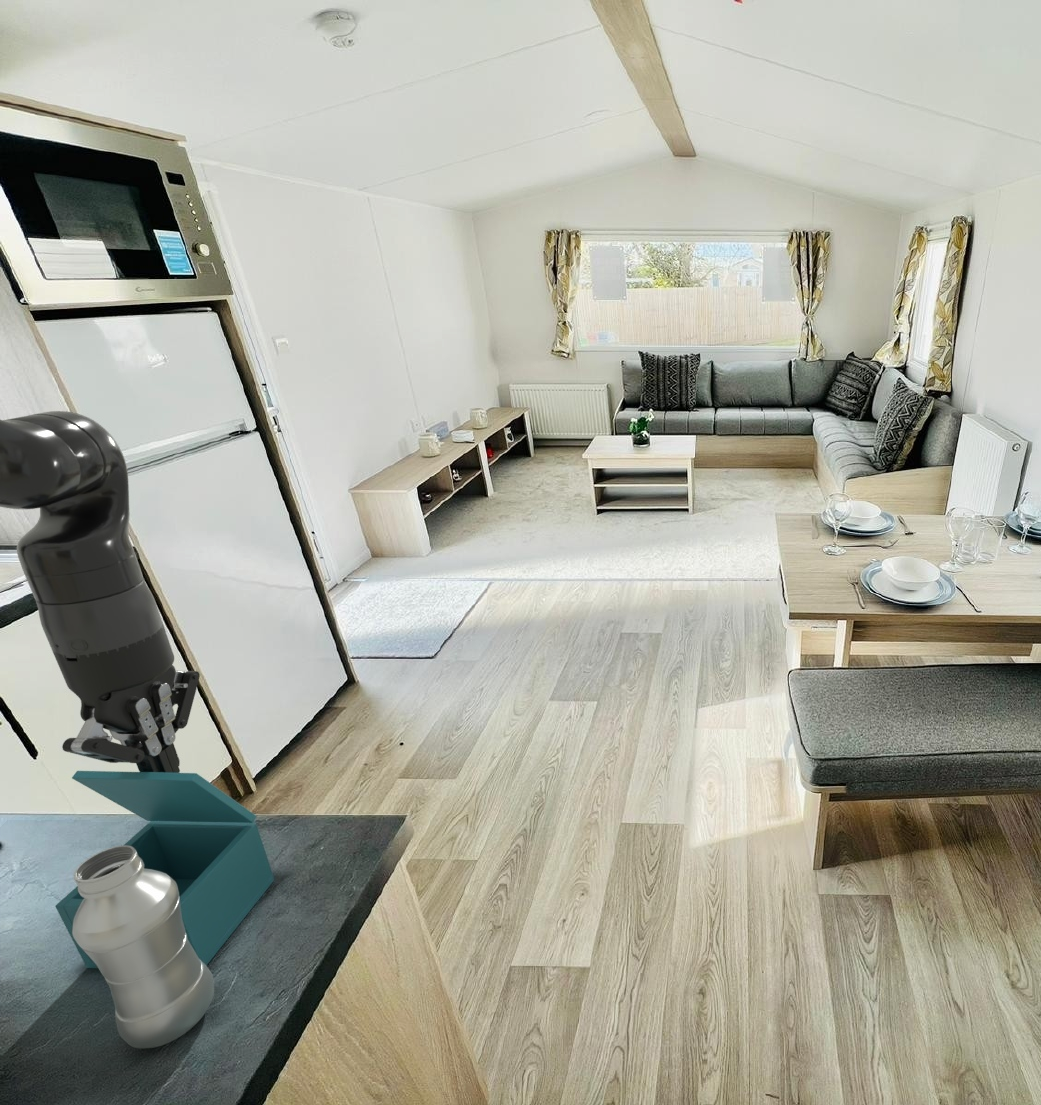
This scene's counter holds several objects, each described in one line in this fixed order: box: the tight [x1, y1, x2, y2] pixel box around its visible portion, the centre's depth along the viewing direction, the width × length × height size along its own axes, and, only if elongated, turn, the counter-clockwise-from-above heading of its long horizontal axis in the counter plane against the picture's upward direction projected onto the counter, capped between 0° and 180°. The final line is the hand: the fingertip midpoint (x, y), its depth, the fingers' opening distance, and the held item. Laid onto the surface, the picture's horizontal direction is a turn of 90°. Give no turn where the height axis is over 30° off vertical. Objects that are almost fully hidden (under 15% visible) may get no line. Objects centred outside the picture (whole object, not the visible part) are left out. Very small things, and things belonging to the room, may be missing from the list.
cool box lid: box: [71, 770, 257, 823], centre depth 65 cm, size 11×12×1 cm
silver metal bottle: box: [72, 844, 215, 1049], centre depth 54 cm, size 6×7×20 cm
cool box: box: [55, 821, 275, 969], centre depth 66 cm, size 11×12×9 cm
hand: (164, 778), depth 64 cm, fingers closed
